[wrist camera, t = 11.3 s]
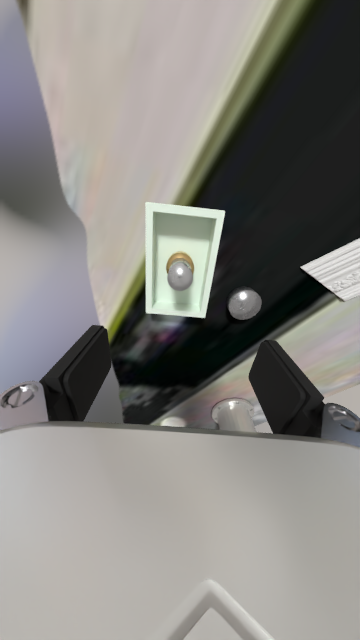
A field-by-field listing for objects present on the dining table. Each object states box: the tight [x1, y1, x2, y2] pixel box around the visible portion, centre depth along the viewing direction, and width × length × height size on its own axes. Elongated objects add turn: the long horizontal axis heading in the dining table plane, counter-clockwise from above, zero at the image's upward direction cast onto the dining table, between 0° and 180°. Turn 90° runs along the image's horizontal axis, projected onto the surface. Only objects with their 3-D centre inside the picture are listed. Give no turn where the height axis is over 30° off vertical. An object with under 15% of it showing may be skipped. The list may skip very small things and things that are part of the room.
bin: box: [146, 202, 225, 318], centre depth 29 cm, size 17×11×4 cm, turn 175°
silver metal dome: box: [226, 286, 261, 320], centre depth 33 cm, size 6×6×2 cm
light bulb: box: [166, 251, 194, 291], centre depth 27 cm, size 5×5×9 cm
